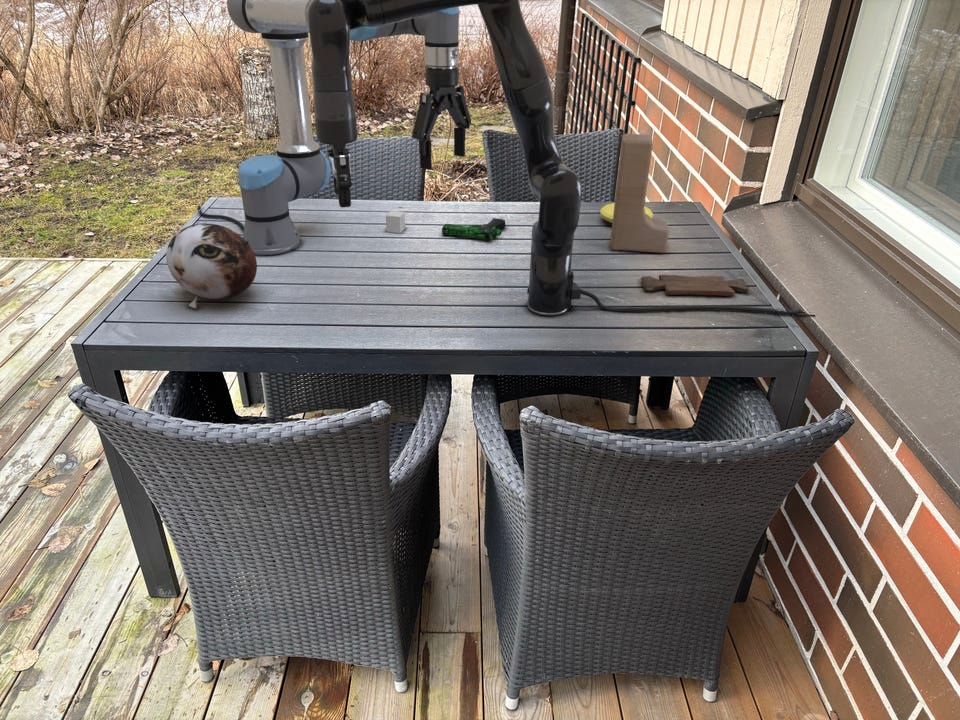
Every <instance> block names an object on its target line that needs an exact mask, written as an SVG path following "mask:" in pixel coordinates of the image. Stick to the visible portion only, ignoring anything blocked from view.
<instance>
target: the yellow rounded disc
mask: <svg viewBox="0 0 960 720" xmlns="http://www.w3.org/2000/svg"><path fill="white" fill-rule="evenodd" d="M614 205H615V202H612V203H608V204H606V205H604V206H602V207H601V208H600V210H599V212H600V216H601V218H602V219H604V220H605V221H607V222H609V223H610V224H612V222H613V213H614ZM644 209H645V213H646V214H647V215H648V216H650V217H651V218H653V217H654V213H653V211H652V210H651V209H650V208H649V207H647V206H644Z"/></svg>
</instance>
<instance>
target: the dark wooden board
mask: <svg viewBox="0 0 960 720" xmlns="http://www.w3.org/2000/svg"><path fill="white" fill-rule="evenodd" d="M640 280H641V286H642V288H643V289H644V291H645V292H657V291H661V290H664V291H665V294H666V295H668V296H669V295H672V296H678V295H703V296H705V295H707V296H724V297H725V296H726V297H727V296H728V297H729V296H730V297H731V296H734V295H735V294H736V292H739V293H747V292H748V286H747V284H746V281H745V279H744V278H736V279H732V280H731V279H730V280H725V276H724V275H677V274H676V275H675V274H659V275H658V278H656V277H653V276H650V275H649V276H646V275H645V276H641V278H640Z"/></svg>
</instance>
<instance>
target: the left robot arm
mask: <svg viewBox="0 0 960 720" xmlns="http://www.w3.org/2000/svg"><path fill="white" fill-rule="evenodd" d="M308 1H309V0H226V9H227V13H228V15H229V18H230V19H231V21H232V22H233V24H234V25H235V26H236V27H237V28H239V29H240V30H242V31H244V32H246V33H250V34H260V36H261V37H260V38H261V40H262V41H263V42H264V43H266V44H267V46H268V50H269V58H270V66H271V75H272V82H273V90H274V97H275V105H276V112H277V113H276V114H277V120H278V128H279V136H280V142H279V143H278V145H277V146H276V147H275V151H276V154H262V155H254V156H253V157H250V158H247V159H245V160H244V161H242V162H241V163H240V164H239V166H238V168H237V174H238V185H239V190H240V194H241V195H240V196H241V201H242V208H243V212H244V213H243V215H244V219H245V220H244V225H243V223H242V222H241V221H239V220H237V219H236V218H233V217H231V216H227V215H222V214H209V213H204V212H203V211H202V206H200V205H198V206H197V207H196V208H197V211H198V214H199V215H200V216H202V217H205V218H216V219H225V220H228V221H231V222H233V223H235V224H237V225H238V226H239V227H240V228H241V230H242V231H243V235H242V237H243V238H244V239H245V240H246V241H249V242H248V244H249V245H250V247H251V248H252V250H253V252H254V254H255V256H256V255H257V256H275V255H281V254H282V255H283V254H285V253H289V252H291V251H293V250H296V249H297V248H298V247H299V246H300V244H301V241H300V235H299V233H298V229H297V228H296V227H295V225H294V223H293V220H292V218H291V216H290V207H289V203H291V202H293V201H296V200H299V199H302V198H305V197H309V196H312V195H315V194H317V193H318V192H321V191H322V190H324V189H325V188H326V187H328V185H329V183H330V180H331V175H332V173H331V170H332V169H331V168H330V165H329V158H327V155H326V153H325V152H324V151H323V150H321V147H320V144H319V143H318V142H316V141H315V140H314V134H313V123H312V115H311V105H310V94H309V86H308V75H307V67H306V57H305V49H304V48H305V47H304V46H305V43H307V41H308V40H309V39H310V35H309V34H310V33H309V27H308V24H307V22H306V18H305V7H306V4H307V2H308ZM460 11H461V10H460V7H454V8H449V9H444V10H440V11H436V12H432V13H429V14H425V15H422V16H418V17H414V18H411V19H407V20H403V21H400V22H396V23H392V24H388V25H383V26H379V27H361V28H357V29H353V30H350V42H351V41H352V42H366V41H369V40H374V39H379V38H387V37H388V38H389V37H395V36H402V35H412V36H421V37H423V36H424V37H423V39H424V65H426V67H425V69H424V71H425V72H424V76H425V85H426V86H427V87H428V88H429V92H428V93H425V92H420V94H419V104H418V109H417V112H416V117H415V121H414V125H413V130H412V132H411V138H412V139H415V140H417V141H418V153H419V164H420V165H419V168H420V169H422V170H423V169H424V170H428V171H431V170H432V169H433V166H432V165H433V164H432V162H433V161H432V160H433V159H432V158H433V157H432V140H431V139H430V137H431V135H432V133H433V129H434V128H435V125H436V122H437V120H438V117H439V116H440V115H441V114H442V112H445V111H447V112H448V113H449V115H450V117H451V119H452V121H453V123H454V125H455V126H456V127H453V155H454V156H455V157H461V158H465V157H466V129H468V130H469V129H470V127H471V124H472V118H471V115H470V111H469V107H468V104H467V100H466V97H465V87H464V85H460V69H459V67H458V66H459V64H460V60H459V59H460V56H459V55H460V52H459V47H460V46H459V45H460V44H459V43H460V41H459V33H460V32H459V28H460V23H459V22H460ZM200 209H201V210H200ZM199 210H200V211H199Z"/></svg>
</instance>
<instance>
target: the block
mask: <svg viewBox="0 0 960 720" xmlns="http://www.w3.org/2000/svg"><path fill="white" fill-rule="evenodd" d="M385 222H386V224H385V227H386V232H387V233H393V234H394V233H396V234H401V233H402V232H404V230H405V229H406V212H405V211H398V210H397V211H396V210H390V211H388V213H387V214H386V215H385Z"/></svg>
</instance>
